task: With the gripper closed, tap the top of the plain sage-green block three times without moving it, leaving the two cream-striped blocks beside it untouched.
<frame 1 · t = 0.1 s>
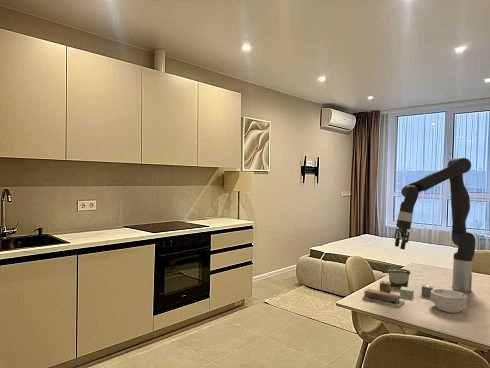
hand: (399, 247, 204), 22 cm above the table, tool pointing down, fingers open, 8 cm apart
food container: (396, 286, 205), on the table
plain sage block: (406, 296, 188), on the table
packaged product: (383, 302, 178), on the table
paper bowls: (447, 309, 170), on the table
charcoal striped block: (427, 295, 190), on the table
walnut striped block: (385, 291, 194), on the table
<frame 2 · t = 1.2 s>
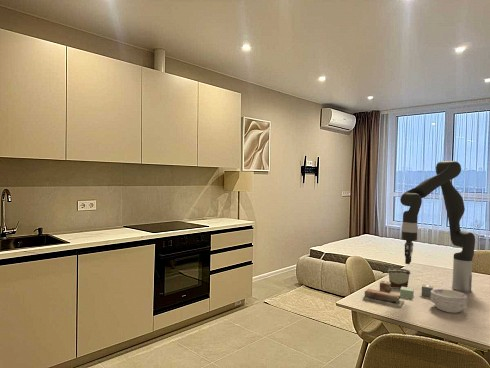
hand: (408, 262, 188), 17 cm above the table, tool pointing down, fingers open, 5 cm apart
nothing on the table moved.
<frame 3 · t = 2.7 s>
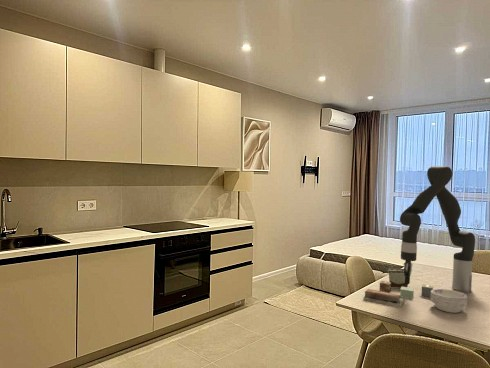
hand: (407, 283, 188), 7 cm above the table, tool pointing down, fingers closed
nothing on the table moved.
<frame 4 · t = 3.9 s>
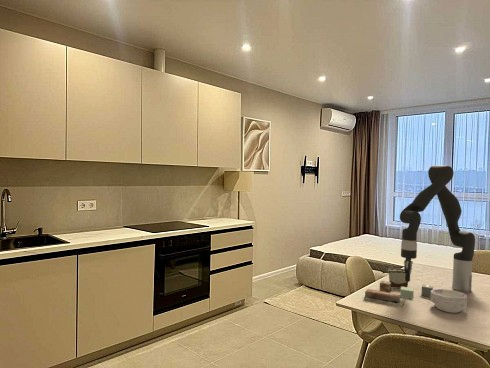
hand: (407, 281, 188), 8 cm above the table, tool pointing down, fingers closed
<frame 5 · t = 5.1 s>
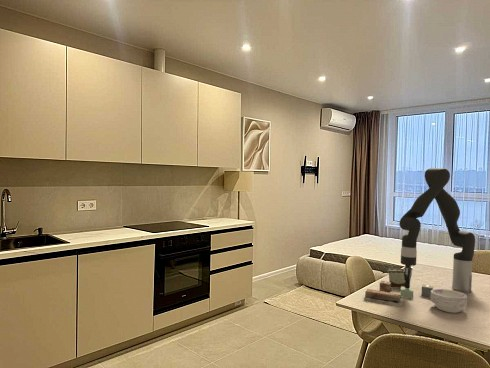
hand: (407, 287, 188), 4 cm above the table, tool pointing down, fingers closed
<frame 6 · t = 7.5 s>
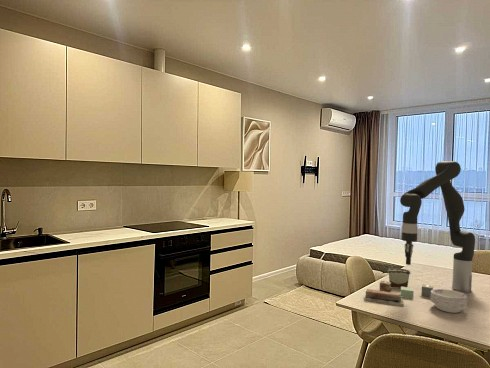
hand: (408, 264, 188), 17 cm above the table, tool pointing down, fingers closed
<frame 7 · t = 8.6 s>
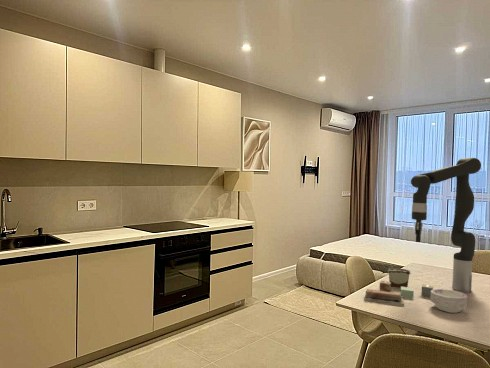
hand: (418, 242, 199), 27 cm above the table, tool pointing down, fingers closed
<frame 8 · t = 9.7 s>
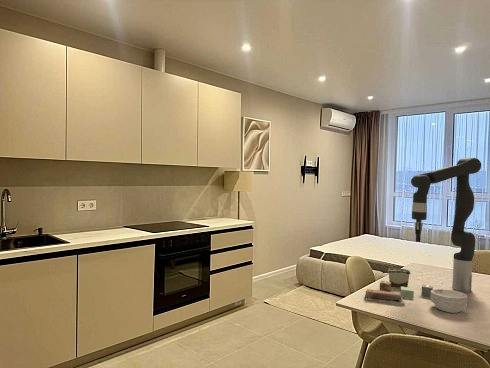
hand: (418, 241, 199), 27 cm above the table, tool pointing down, fingers closed
at the end: plain sage block moved 0.2 cm from its start; plain sage block tilted 0°; walnut striped block moved 0.1 cm from its start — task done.
